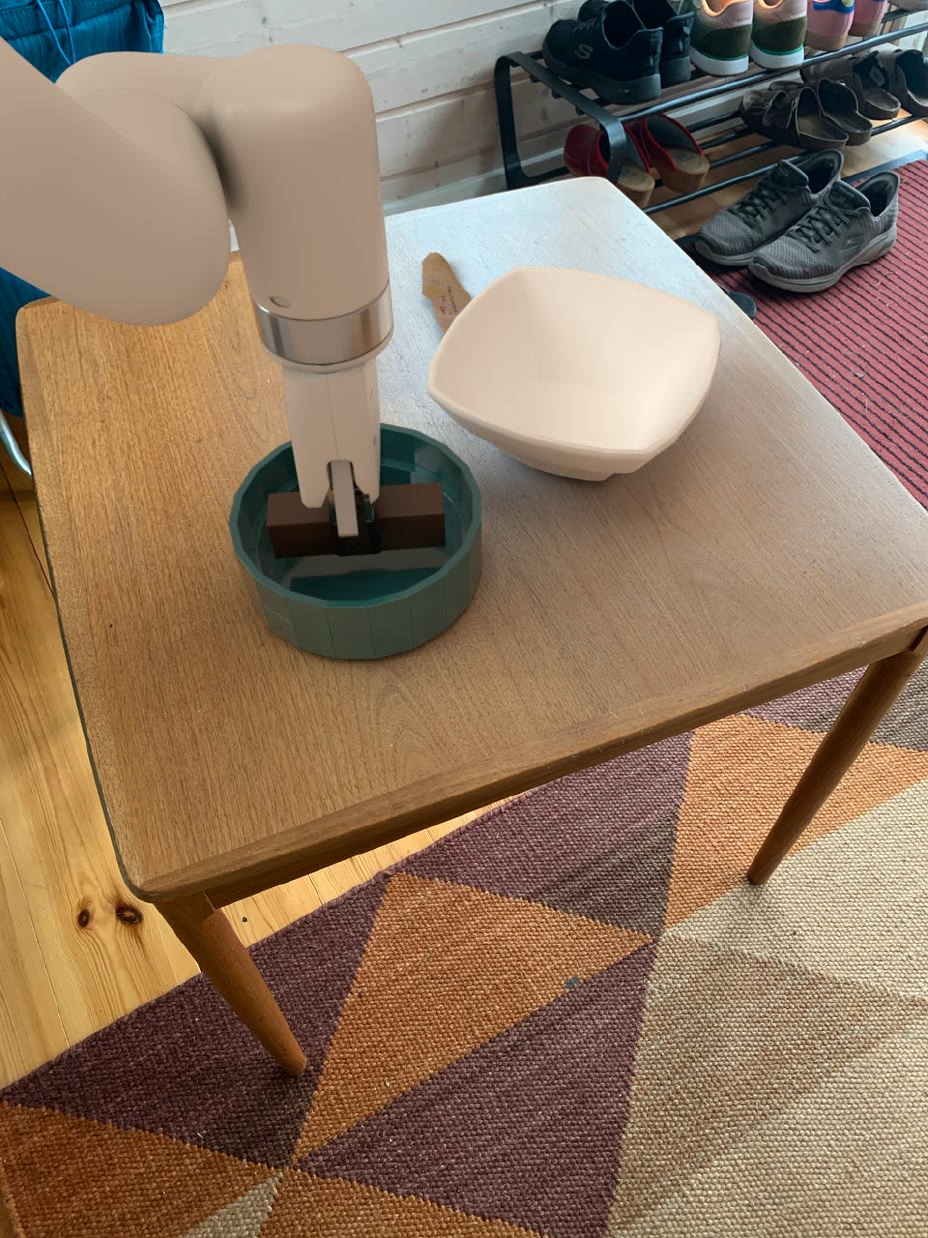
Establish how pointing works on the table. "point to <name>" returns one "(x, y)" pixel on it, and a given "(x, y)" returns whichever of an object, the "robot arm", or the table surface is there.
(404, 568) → the mixing bowl
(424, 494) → the brown wooden block
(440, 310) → the stone tool
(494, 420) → the bowl
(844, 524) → the table surface
